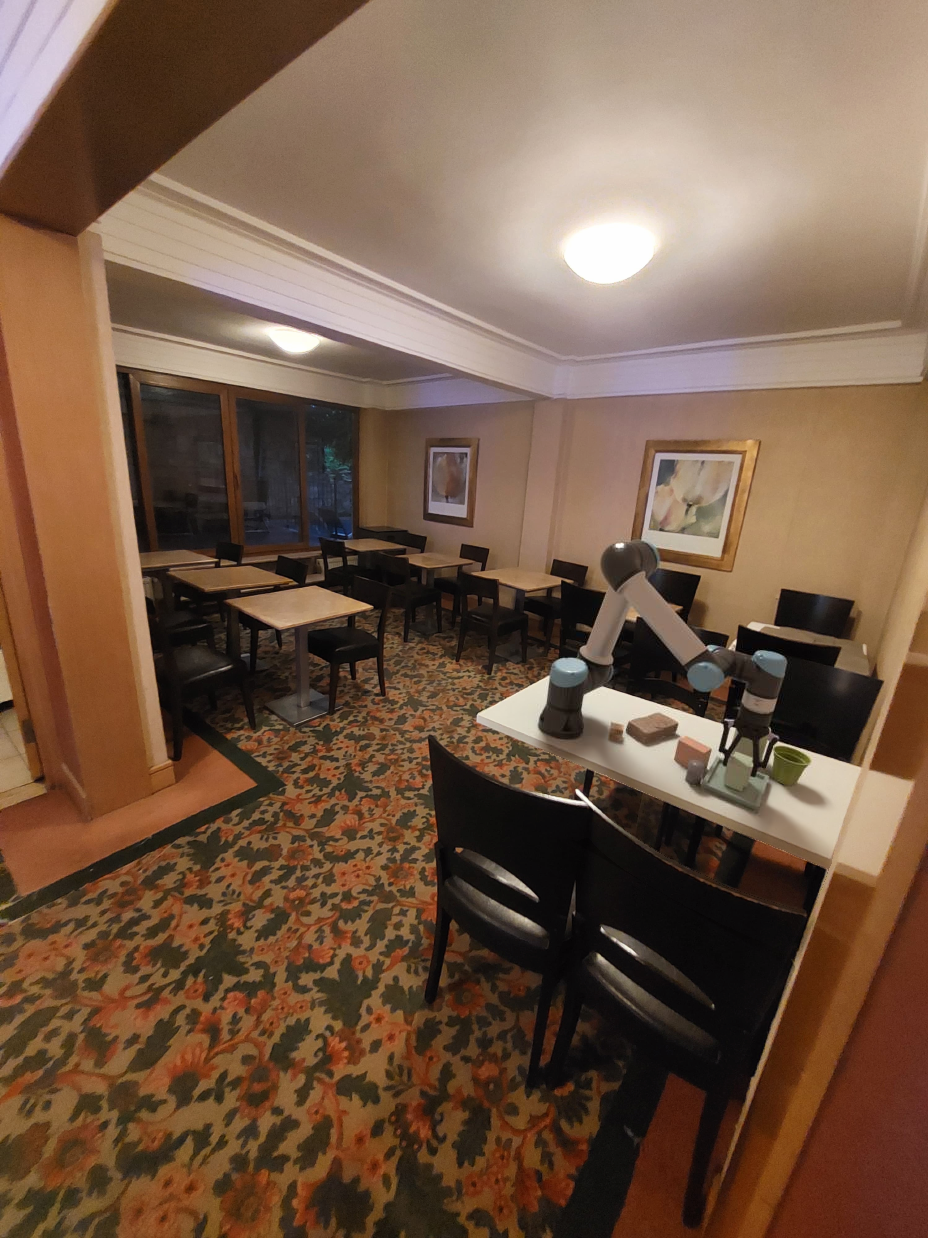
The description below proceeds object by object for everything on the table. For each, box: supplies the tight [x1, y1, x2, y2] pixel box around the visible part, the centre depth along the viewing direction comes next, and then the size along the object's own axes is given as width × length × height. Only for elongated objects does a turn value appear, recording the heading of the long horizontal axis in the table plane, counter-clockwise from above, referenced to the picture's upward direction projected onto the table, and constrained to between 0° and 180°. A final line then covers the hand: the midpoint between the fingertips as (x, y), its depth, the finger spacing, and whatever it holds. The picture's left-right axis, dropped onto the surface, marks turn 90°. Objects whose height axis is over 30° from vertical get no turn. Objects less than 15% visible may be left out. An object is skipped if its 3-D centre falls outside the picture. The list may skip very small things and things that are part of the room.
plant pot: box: [771, 744, 812, 787], centre depth 135 cm, size 9×9×9 cm
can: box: [731, 726, 772, 763], centre depth 145 cm, size 9×9×12 cm
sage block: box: [724, 751, 753, 792], centre depth 131 cm, size 4×8×7 cm, turn 141°
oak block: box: [608, 721, 625, 742], centre depth 153 cm, size 4×4×4 cm
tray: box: [699, 755, 770, 814], centre depth 132 cm, size 14×18×2 cm
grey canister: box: [684, 760, 705, 787], centre depth 132 cm, size 4×4×6 cm
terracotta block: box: [673, 735, 713, 771], centre depth 140 cm, size 4×8×7 cm, turn 35°
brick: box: [625, 711, 679, 744], centre depth 157 cm, size 17×8×5 cm, turn 118°
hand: (735, 780), depth 132 cm, fingers closed on sage block, 4 cm apart
